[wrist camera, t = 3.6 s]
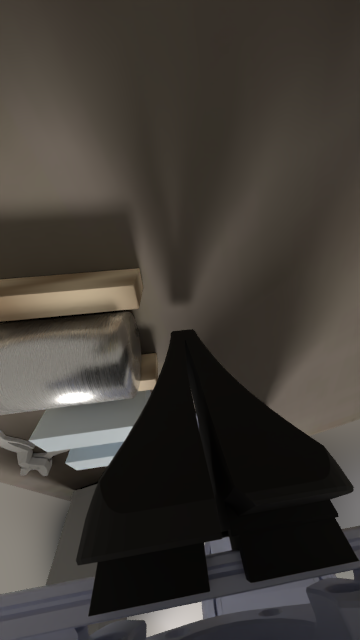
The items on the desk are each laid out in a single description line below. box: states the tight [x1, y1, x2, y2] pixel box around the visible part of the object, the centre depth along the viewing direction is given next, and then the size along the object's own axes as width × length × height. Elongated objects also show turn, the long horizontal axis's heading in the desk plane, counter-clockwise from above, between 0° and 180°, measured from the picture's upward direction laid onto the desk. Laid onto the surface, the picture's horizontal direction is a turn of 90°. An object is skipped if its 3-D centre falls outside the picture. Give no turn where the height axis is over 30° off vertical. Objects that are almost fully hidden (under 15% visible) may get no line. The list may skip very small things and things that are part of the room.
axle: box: [0, 312, 141, 415], centre depth 9 cm, size 9×5×5 cm, turn 93°
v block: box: [28, 390, 151, 470], centre depth 15 cm, size 8×8×4 cm
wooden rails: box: [0, 268, 158, 391], centre depth 10 cm, size 11×8×2 cm
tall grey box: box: [46, 484, 127, 636], centre depth 25 cm, size 14×6×25 cm, turn 122°
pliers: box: [0, 430, 70, 476], centre depth 21 cm, size 10×2×15 cm
